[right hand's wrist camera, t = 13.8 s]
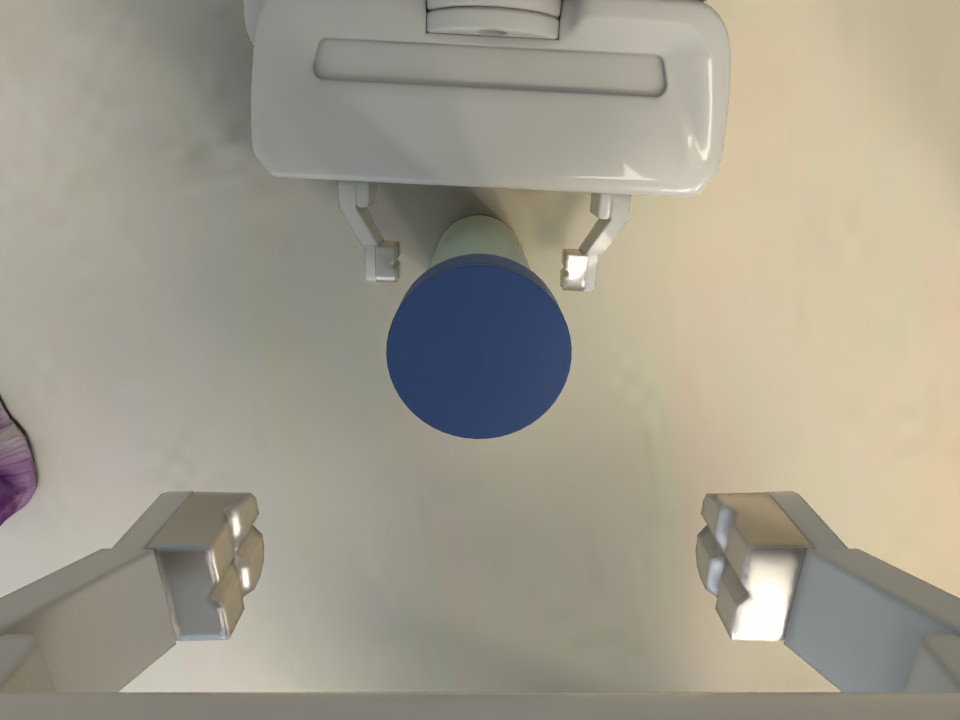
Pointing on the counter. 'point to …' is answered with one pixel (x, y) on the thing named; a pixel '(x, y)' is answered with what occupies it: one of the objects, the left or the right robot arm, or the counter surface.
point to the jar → (479, 240)
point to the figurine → (14, 468)
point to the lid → (478, 347)
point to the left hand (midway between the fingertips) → (480, 284)
